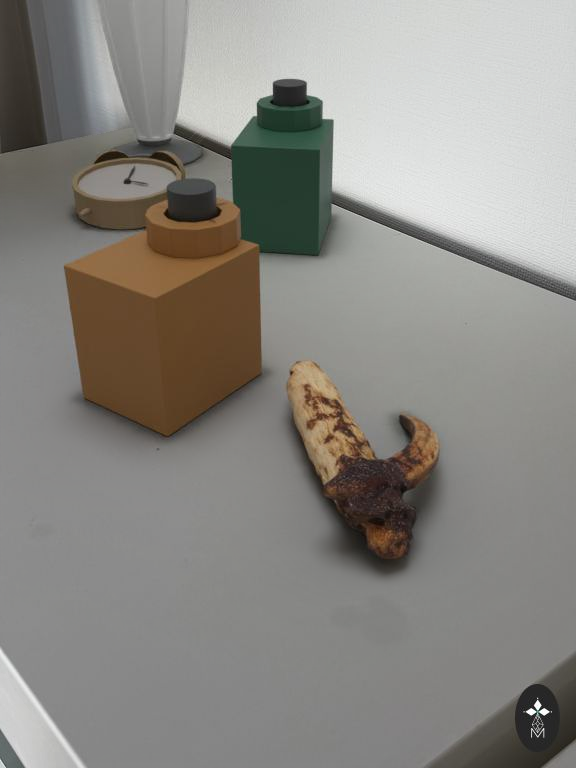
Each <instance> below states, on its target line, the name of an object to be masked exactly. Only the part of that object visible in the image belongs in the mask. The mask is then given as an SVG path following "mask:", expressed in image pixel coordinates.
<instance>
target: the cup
mask: <svg viewBox="0 0 576 768" xmlns="http://www.w3.org/2000/svg"><path fill="white" fill-rule="evenodd" d="M96 2H97V7H98V11H99V16H100V21H101V27H102V30H103V35H104V38H105V42H106V45H107V50H108V54H109V58H110V61H111V65H112V70H113V73H114V77H115V79H116V83H117V87H118V89H119V93H120V97H121V99H122V103H123V106H124V109H125V111H126V114H127V117H128V120H129V123H130V125H131V127H132V130H133V133H134V138H135V140H136V141H133V142H129V143H128V142H127V143H125V144H121V145H119V146H117V147H115V148H114V149H113V150H117V151H120V152H123V153H124V154H126V155H127V156H130V155H138V154H150V155H152V154H153V153H156V152H158V151H168V152H171V153H173V154H175V155H176V156H177V157H178V158H179V159H180V160H181V162H182V163H183V166H184V165H187V164H190V163H193V162H195V161H196V160H198V159H199V158H201V156H202V149H201V148H200V147H198V146H197V145H196V144H193V143H190V142H187V141H183V140H174V139H173V137H174V131H175V127H176V123H177V118H178V113H179V109H180V102H181V96H182V95H181V94H182V88H183V80H184V74H185V63H186V54H187V42H188V33H189V32H188V31H189V16H190V15H189V14H190V13H189V12H190V0H96Z"/></svg>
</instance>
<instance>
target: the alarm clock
mask: <svg viewBox="0 0 576 768" xmlns="http://www.w3.org/2000/svg"><path fill="white" fill-rule="evenodd" d="M186 175H187V173H186V168H185V166H184V165H183V163H182V162H181V160H180V159H179V158H178V157H177V156H176V155H175V154H173V153H171V152H168V151H158V152H156V153H153V154H152V155H150V154H138V155H130V156H127V155H126V154H124V153H123V152H120V151H117V150H114V149H109V150H105V151H103V152H101V153H100V154H98V155H96V157H95V159H94V160H93V163H92V164H91V165H89V166H87V167H85V168H83V169H82V170H80V171H78V172H77V173H76V174H75V175H74V176H73V178H72V181H71V187H72V191H73V196H74V202H75V203H74V204H75V212H76V214H77V216H78V217H79V219H80V220H82V221H83V222H85V223H86V224H88V225H91V226H94V227H98V228H102V229H108V230H109V229H110V230H111V229H112V230H136V229H141V228H146V221H145V214H146V212H147V211H148V210H149V208H150V207H151V206H153V205H155V204H158V203H160V202H162V201H165V200H167V185H168V184H169V183H171V182H173V181H176V180H181V179H186Z"/></svg>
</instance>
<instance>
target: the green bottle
mask: <svg viewBox="0 0 576 768" xmlns="http://www.w3.org/2000/svg"><path fill="white" fill-rule="evenodd" d="M323 109H324V101H323V100H322V99H320V97H317V96H313V95H308V94H307V105H304V106H297V107H282V106H276V105H273V94H270V95H267V96H264V97H261V98H259V99H258V101H257V102H256V115H253V116H252V117H251V118H250V120H249V121H248V122H247V123H246V124H245V126H244V127H243V129H242V130H241V132H240V133H239V134H238V135H237V137H236V138H235V139H234V141H233V142H232V143H231V145H230V157H231V183H232V184H231V185H232V203H234V204H235V205H236V206H237V207H238V208H239V209H240V218H241V238H240V239H241V240H245V241H248V242H252V243H255V244H258V245H259V253H260V252H263V253H275V254H276V253H277V254H293V255H309V256H319V254H320V251H321V248H322V245H323V242H324V240H325V237H326V233H327V231H328V228H329V225H330V222H331V220H332V209H333V208H332V207H333V206H332V205H333V165H334V164H333V163H334V129H335V128H334V125H335V124H334V122H335V120H334V119H333V118H324V115H323V113H324V112H323V111H324V110H323Z"/></svg>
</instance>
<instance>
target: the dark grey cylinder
mask: <svg viewBox="0 0 576 768" xmlns="http://www.w3.org/2000/svg"><path fill="white" fill-rule="evenodd" d="M216 198H217V185H216V183H215V182H214V181H212V180H210V179H205V178H197V177H196V178H195V177H189V178H185V179H181V180H176V181H173V182H171V183H169V184H168V185H167V200H168V213H169V219H170V220H174V221H177V222H193V223H195V222H202V221H208V220H211V219H214V218H216V217H217V200H216Z"/></svg>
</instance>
